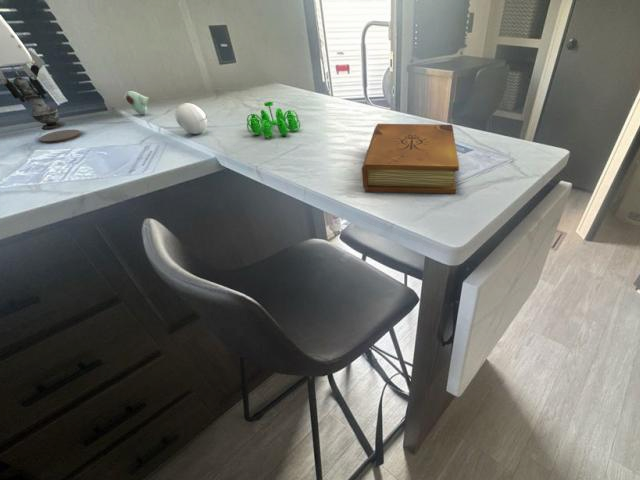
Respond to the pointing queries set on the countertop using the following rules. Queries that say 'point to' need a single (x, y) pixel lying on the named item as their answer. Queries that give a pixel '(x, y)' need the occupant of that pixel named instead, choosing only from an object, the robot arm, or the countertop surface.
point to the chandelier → (272, 122)
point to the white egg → (191, 118)
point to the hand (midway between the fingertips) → (33, 98)
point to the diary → (411, 159)
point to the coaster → (60, 136)
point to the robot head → (136, 101)
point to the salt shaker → (38, 105)
